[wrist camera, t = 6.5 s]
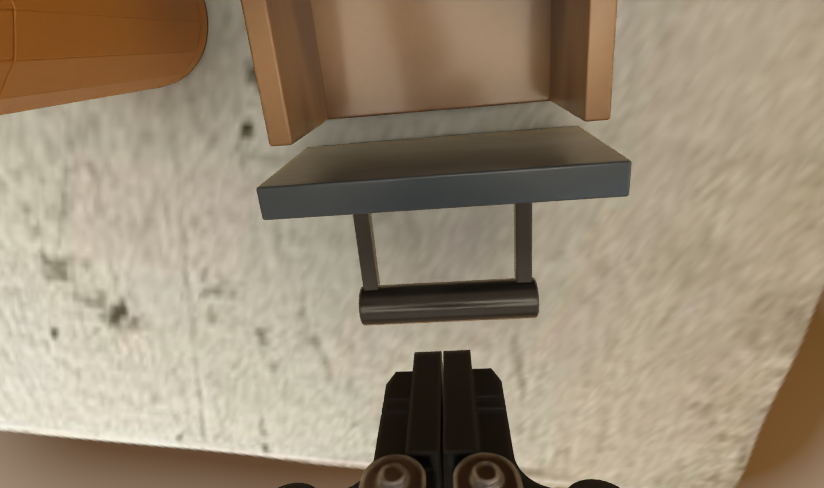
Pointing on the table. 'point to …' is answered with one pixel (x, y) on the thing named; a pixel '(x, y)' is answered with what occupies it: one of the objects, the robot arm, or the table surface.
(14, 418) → the table surface
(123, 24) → the jar
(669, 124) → the table surface
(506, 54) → the drawer
